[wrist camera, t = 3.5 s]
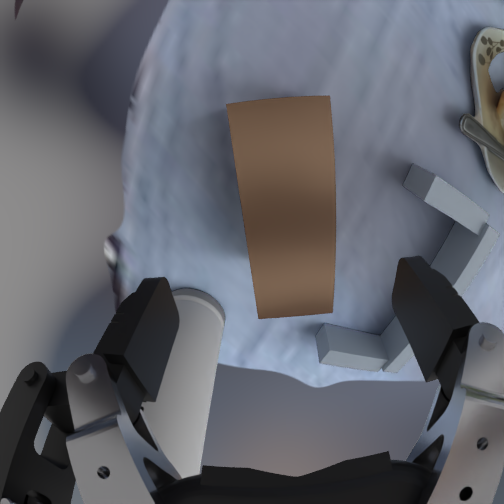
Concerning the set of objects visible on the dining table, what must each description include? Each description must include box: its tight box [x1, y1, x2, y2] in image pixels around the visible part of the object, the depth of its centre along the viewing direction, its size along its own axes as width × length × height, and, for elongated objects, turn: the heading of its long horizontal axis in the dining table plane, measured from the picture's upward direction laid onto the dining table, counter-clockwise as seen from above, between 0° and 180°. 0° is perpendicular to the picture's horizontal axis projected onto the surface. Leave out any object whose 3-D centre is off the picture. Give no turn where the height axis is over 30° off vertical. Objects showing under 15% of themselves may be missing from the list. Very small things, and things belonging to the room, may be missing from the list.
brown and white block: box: [226, 96, 336, 319], centre depth 16 cm, size 12×5×7 cm, turn 7°
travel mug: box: [141, 288, 225, 479], centre depth 17 cm, size 6×7×20 cm
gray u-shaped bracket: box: [315, 163, 500, 373], centre depth 20 cm, size 18×9×5 cm, turn 162°
